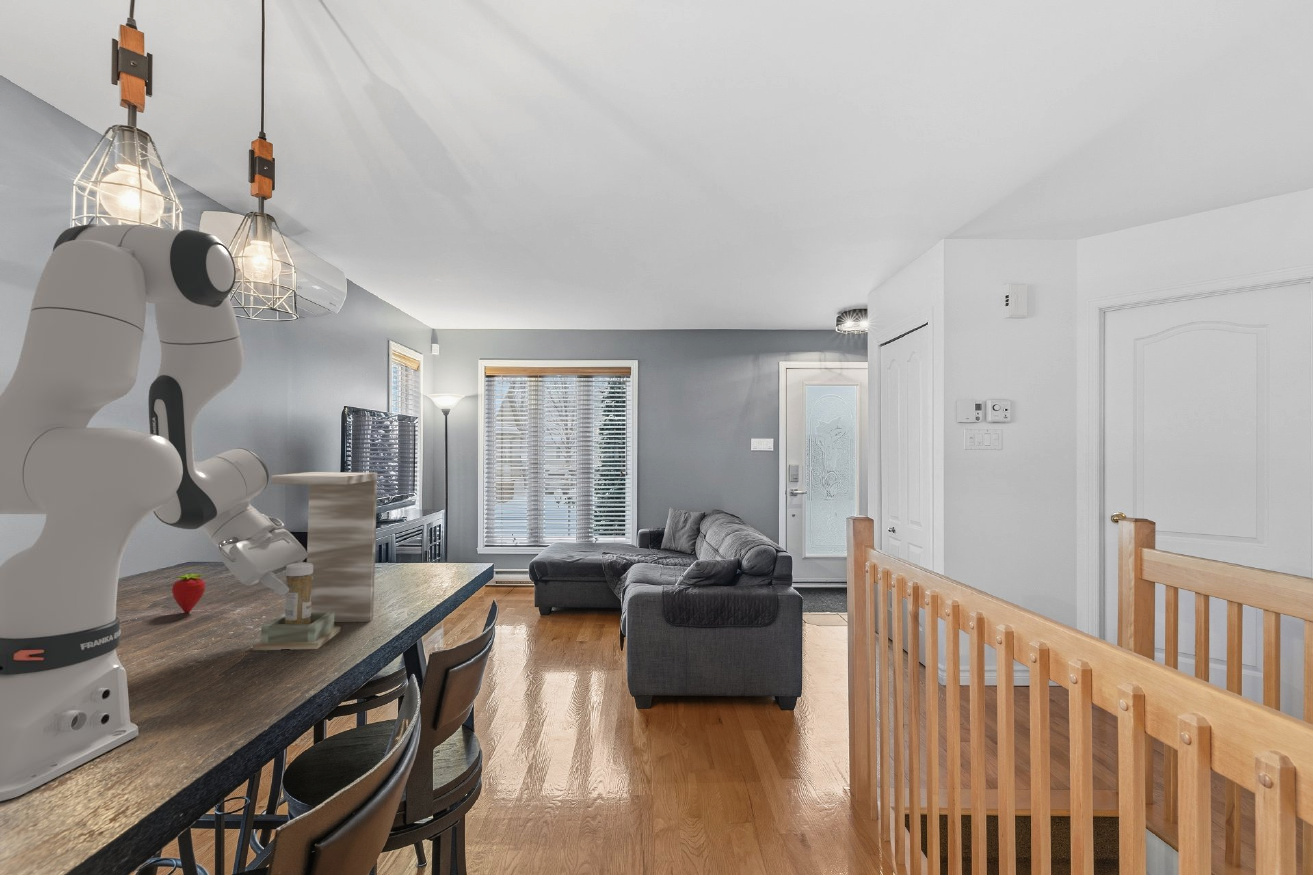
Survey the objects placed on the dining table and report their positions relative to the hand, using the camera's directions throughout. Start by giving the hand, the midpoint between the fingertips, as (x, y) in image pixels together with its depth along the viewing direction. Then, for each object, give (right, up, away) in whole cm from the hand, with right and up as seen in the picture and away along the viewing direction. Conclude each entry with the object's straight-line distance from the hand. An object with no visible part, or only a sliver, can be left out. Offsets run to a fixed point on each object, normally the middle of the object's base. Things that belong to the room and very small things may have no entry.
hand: (298, 587), depth 118 cm
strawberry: (-35, -10, +18) cm, 40 cm away
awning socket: (+1, -10, +5) cm, 11 cm away
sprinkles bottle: (0, -9, 0) cm, 9 cm away
